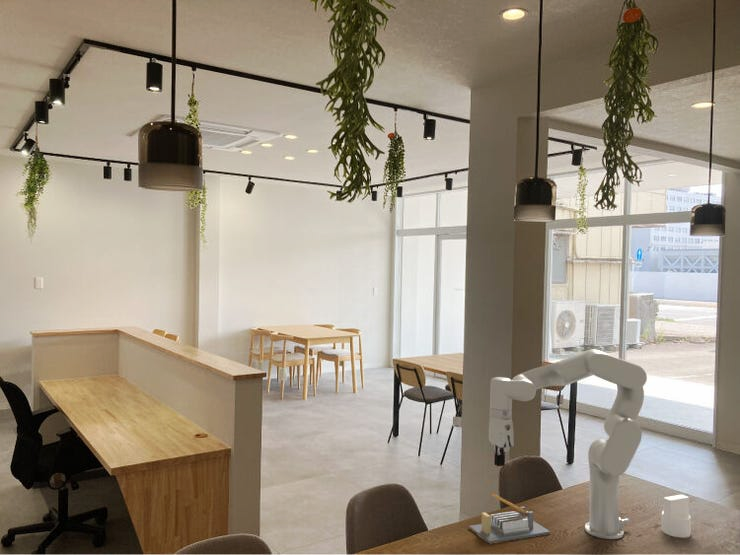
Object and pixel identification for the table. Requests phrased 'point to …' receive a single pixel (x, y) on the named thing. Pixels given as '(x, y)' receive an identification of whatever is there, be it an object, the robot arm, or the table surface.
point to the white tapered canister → (676, 516)
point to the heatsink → (509, 523)
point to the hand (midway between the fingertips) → (499, 465)
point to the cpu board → (495, 536)
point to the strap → (510, 504)
